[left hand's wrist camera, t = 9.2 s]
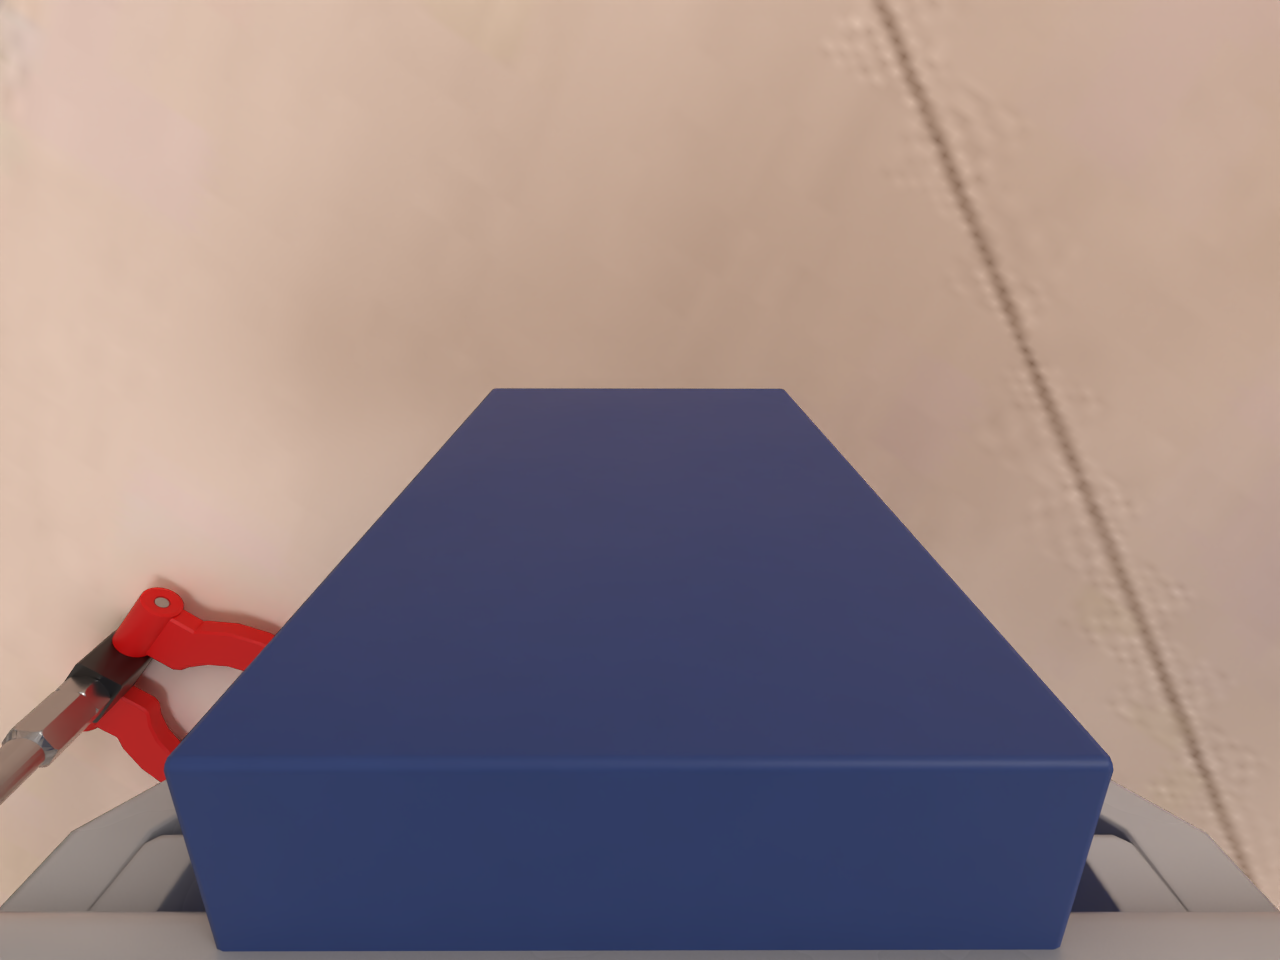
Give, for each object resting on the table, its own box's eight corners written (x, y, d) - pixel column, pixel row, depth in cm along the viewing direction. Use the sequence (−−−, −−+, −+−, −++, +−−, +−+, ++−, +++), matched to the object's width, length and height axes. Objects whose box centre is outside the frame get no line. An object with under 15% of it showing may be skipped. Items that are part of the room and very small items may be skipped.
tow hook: (389, 691, 27) (167, 560, 25) (213, 1075, 15) (-247, 898, 13) (280, 814, 30) (67, 706, 27) (55, 1233, 18) (-364, 1109, 15)
